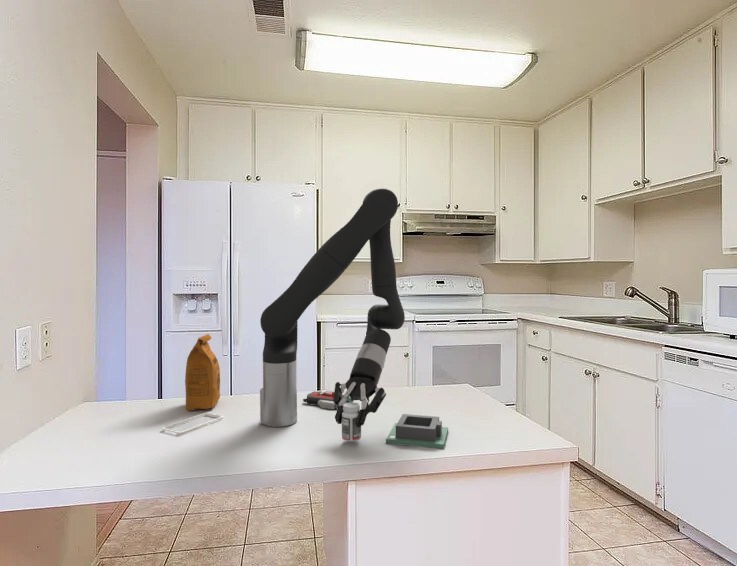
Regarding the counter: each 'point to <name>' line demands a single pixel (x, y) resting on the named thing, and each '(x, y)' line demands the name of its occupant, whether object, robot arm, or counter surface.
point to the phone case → (191, 420)
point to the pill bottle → (350, 422)
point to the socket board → (418, 431)
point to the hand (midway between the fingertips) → (348, 423)
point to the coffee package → (202, 376)
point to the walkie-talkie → (322, 399)
